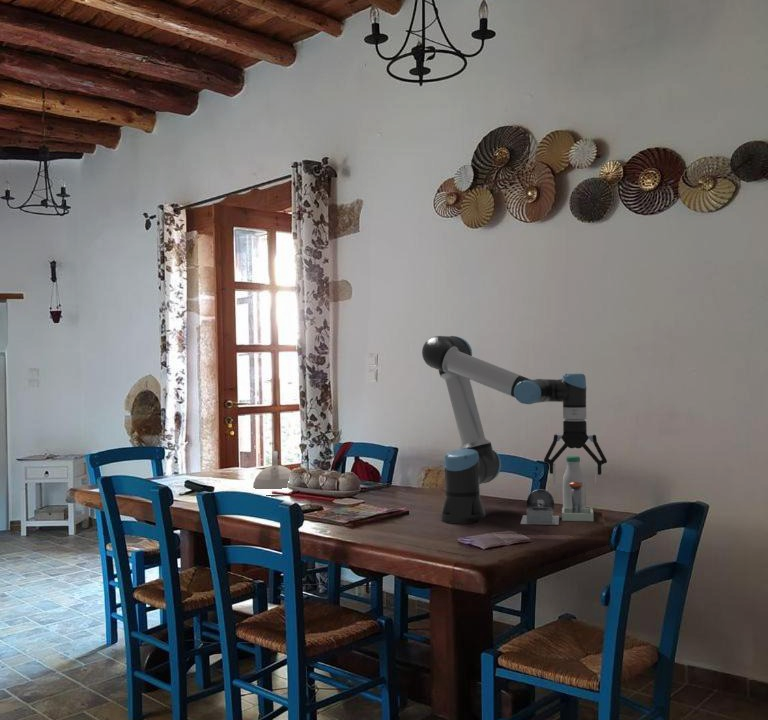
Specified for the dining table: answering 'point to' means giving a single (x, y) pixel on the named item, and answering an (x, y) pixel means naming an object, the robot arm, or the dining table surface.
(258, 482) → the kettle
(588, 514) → the tray
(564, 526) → the dining table surface
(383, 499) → the dining table surface
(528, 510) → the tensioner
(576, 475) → the milk bottle
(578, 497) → the pin
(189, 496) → the dining table surface
